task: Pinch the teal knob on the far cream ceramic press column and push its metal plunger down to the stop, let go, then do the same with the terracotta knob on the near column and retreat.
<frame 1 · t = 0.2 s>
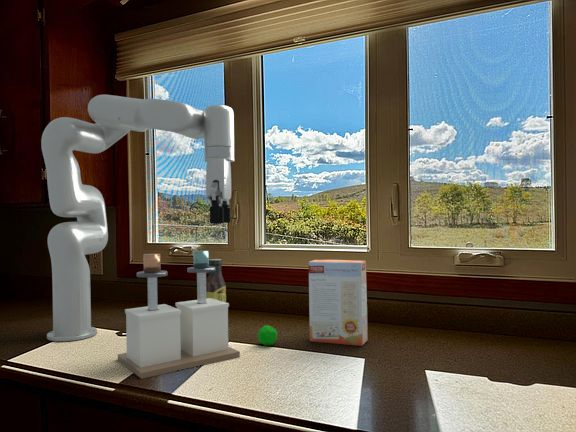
hand: (220, 223, 116), 31 cm above the worktop, tool pointing down, fingers open, 9 cm apart
plunger b: (201, 281, 110), point 17 cm above the worktop, slide at 6.0 cm
cracker box: (338, 342, 119), on the worktop
sauce bottle: (215, 327, 136), on the worktop
plunger a: (152, 286, 103), point 17 cm above the worktop, slide at 6.0 cm
press stand: (178, 358, 106), on the worktop
polyhedron: (267, 345, 116), on the worktop
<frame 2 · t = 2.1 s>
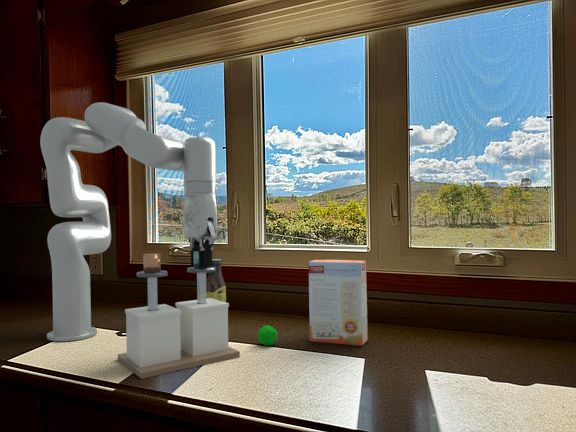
hand: (201, 266, 110), 21 cm above the worktop, tool pointing down, fingers closed on plunger b, 3 cm apart
plunger b: (201, 281, 110), point 17 cm above the worktop, slide at 6.0 cm, touching gripper
everything else where it was.
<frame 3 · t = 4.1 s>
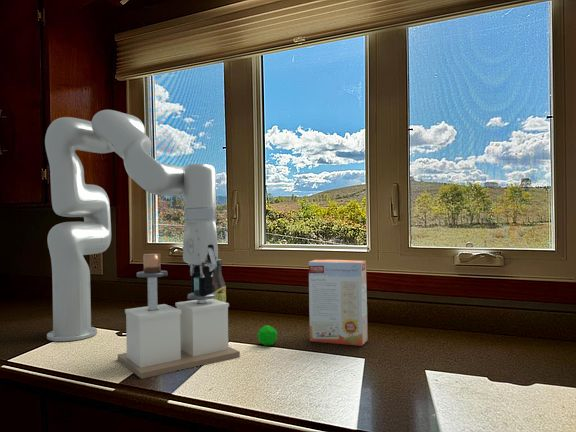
hand: (201, 292, 110), 15 cm above the worktop, tool pointing down, fingers closed on plunger b, 3 cm apart
plunger b: (201, 307, 110), point 11 cm above the worktop, slide at -0.3 cm, touching gripper
everything else where it was.
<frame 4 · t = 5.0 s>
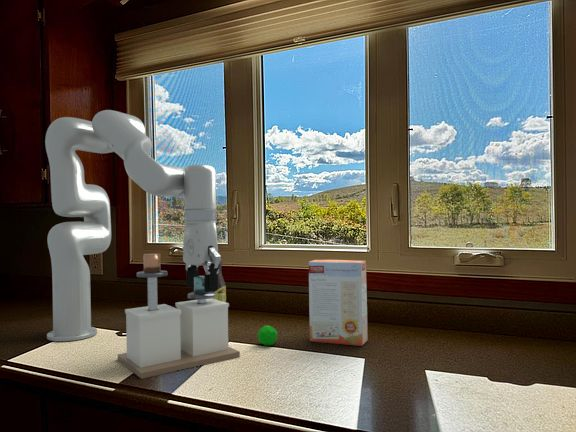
hand: (201, 288, 110), 15 cm above the worktop, tool pointing down, fingers open, 9 cm apart
plunger b: (201, 306, 110), point 11 cm above the worktop, slide at -0.1 cm
everything else where it was.
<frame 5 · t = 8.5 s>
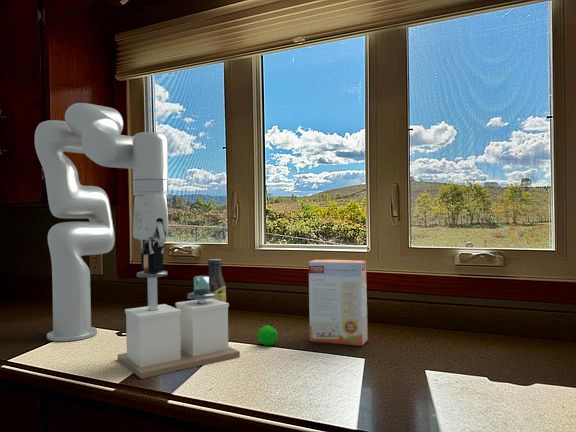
hand: (152, 270, 103), 21 cm above the worktop, tool pointing down, fingers closed on plunger a, 3 cm apart
plunger a: (152, 286, 103), point 17 cm above the worktop, slide at 6.0 cm, touching gripper
everything else where it was.
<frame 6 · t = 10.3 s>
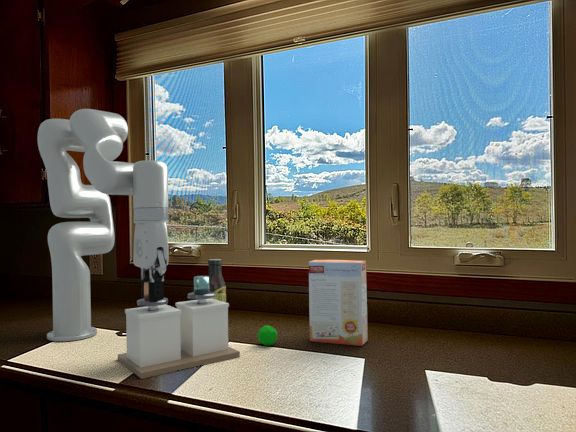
hand: (152, 297, 103), 15 cm above the worktop, tool pointing down, fingers closed on plunger a, 3 cm apart
plunger a: (152, 314, 103), point 11 cm above the worktop, slide at -0.2 cm, touching gripper
everything else where it was.
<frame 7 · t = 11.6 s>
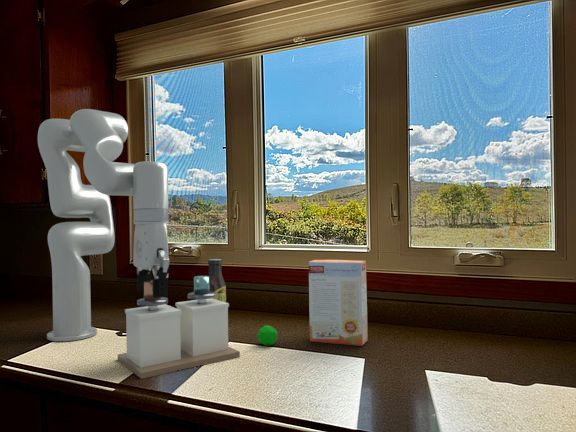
hand: (152, 294, 103), 16 cm above the worktop, tool pointing down, fingers open, 9 cm apart
plunger a: (152, 314, 103), point 11 cm above the worktop, slide at -0.1 cm
everything else where it was.
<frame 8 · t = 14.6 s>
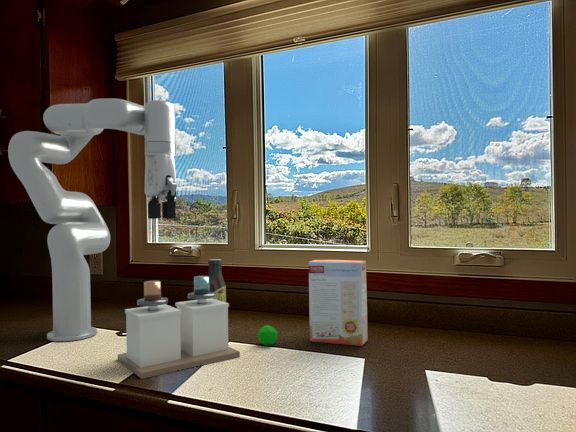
hand: (161, 218, 116), 32 cm above the worktop, tool pointing down, fingers open, 9 cm apart
nothing on the worktop moved.
at the end: plunger b slide at -0.1 cm; plunger a slide at -0.1 cm; the gripper is holding nothing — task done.
